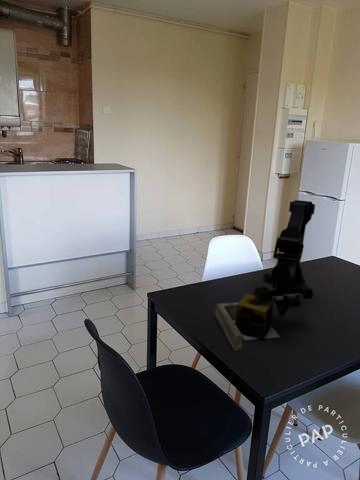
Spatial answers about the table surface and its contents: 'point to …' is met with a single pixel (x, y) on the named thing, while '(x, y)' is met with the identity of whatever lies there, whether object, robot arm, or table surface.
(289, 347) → the table surface
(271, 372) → the table surface
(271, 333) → the mat
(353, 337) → the table surface
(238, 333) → the arena
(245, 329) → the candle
